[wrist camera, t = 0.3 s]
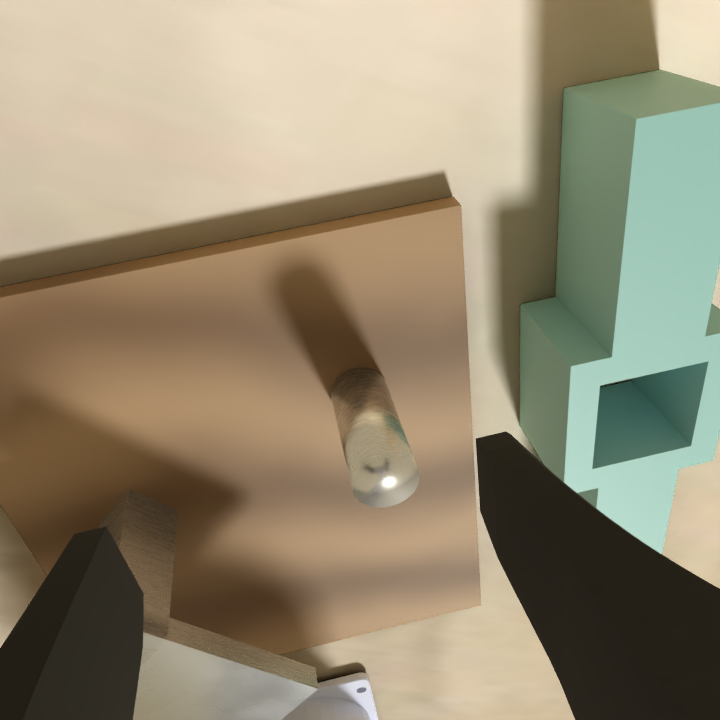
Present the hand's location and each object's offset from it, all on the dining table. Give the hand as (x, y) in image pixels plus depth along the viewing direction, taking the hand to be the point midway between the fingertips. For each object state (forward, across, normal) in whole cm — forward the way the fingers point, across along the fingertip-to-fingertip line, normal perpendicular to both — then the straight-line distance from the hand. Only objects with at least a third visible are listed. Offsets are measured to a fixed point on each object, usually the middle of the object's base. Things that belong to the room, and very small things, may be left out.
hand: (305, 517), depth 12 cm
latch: (+10, -11, +7) cm, 16 cm away
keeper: (+9, +6, +11) cm, 16 cm away
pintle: (+10, -2, +4) cm, 11 cm away
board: (+10, +2, +8) cm, 13 cm away
